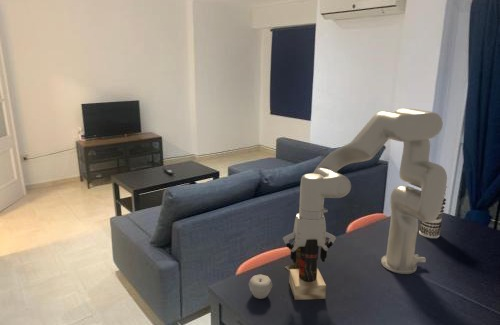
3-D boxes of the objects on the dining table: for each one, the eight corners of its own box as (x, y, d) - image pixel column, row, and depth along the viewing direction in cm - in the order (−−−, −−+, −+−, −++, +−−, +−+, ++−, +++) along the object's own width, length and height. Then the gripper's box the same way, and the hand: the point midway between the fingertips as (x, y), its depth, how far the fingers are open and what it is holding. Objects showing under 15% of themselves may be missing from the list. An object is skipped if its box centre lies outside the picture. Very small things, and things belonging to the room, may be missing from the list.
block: (317, 280, 126) (317, 268, 124) (324, 298, 116) (326, 285, 115) (289, 281, 125) (289, 269, 123) (294, 299, 115) (295, 286, 114)
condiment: (314, 270, 132) (316, 241, 129) (297, 277, 128) (298, 247, 125) (301, 261, 138) (303, 233, 135) (284, 267, 134) (285, 238, 130)
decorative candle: (415, 228, 167) (422, 178, 161) (436, 230, 166) (444, 179, 159) (421, 237, 158) (429, 184, 152) (443, 239, 157) (452, 185, 151)
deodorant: (317, 282, 116) (320, 240, 112) (299, 281, 116) (302, 240, 112) (315, 272, 122) (317, 232, 118) (297, 271, 122) (299, 231, 118)
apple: (248, 287, 121) (248, 271, 119) (271, 288, 121) (272, 271, 119) (247, 303, 113) (248, 285, 112) (272, 303, 113) (273, 285, 111)
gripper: (333, 207, 117) (330, 253, 122) (282, 208, 116) (280, 255, 120) (341, 216, 110) (337, 265, 114) (286, 217, 109) (284, 267, 113)
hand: (308, 260), depth 117 cm, fingers open, 9 cm apart
